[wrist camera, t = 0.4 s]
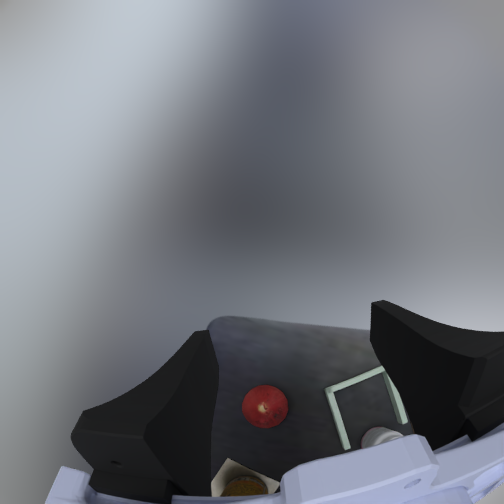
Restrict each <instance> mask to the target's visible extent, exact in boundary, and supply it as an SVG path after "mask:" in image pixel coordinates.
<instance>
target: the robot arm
mask: <svg viewBox="0 0 504 504" xmlns="http://www.w3.org/2000/svg"><path fill="white" fill-rule="evenodd" d="M370 342H371V344H372V347H373V349H374V351H375V354H376V356H377V358H378V360H379V361H380V363H381V365H382V366H383V368H384V369H385V371H386V373H387V374H388V376H389V378H390V379H391V381H392V383H393V384H394V386H395V387H396V389H397V391H398V393H399V395H400V397H401V399H402V401H403V403H404V406H405V408H406V411H407V413H408V416H409V418H410V421H411V424H412V427H413V429H414V433H415V434H412V435H407V436H403V437H398V438H395V439H392V440H389V441H386V442H383V443H380V444H377V445H374V446H370V447H367V448H363V449H360V450H356V451H352V452H348V453H344V454H340V455H336V456H331V457H327V458H322V459H317V460H314V461H310V462H307V463H304V464H300V465H298V466H296V467H295V468H293V469H291V470H290V471H288V472H286V473H285V474H284V475H283V477H282V479H281V482H280V489H281V492H279V493H275V494H265V495H252V496H232V497H212V490H211V430H212V422H213V416H214V409H215V403H216V397H217V391H218V382H219V365H218V362H217V358H216V355H215V351H214V348H213V344H212V341H211V337H210V333H209V330H203V331H195V332H194V333H193V334H192V335H191V336H190V337H189V339H188V340H187V341H186V342H185V343H184V344H183V345H182V347H181V348H180V349H179V350H178V351H177V352H176V353H175V354H174V356H172V357H171V358H170V359H169V360H168V361H167V362H166V363H165V364H164V365H163V366H162V367H161V368H160V369H159V370H158V371H157V372H155V373H154V374H153V375H152V376H151V377H149V378H148V379H146V380H145V381H144V382H142V383H141V384H139V385H138V386H136V387H135V388H133V389H132V390H130V391H128V392H127V393H125V394H123V395H121V396H119V397H117V398H115V399H113V400H111V401H109V402H107V403H104V404H102V405H99V406H96V407H93V408H91V409H88V410H85V411H83V413H82V414H81V416H80V418H79V420H78V422H77V424H76V426H75V428H74V429H73V431H72V433H71V440H72V443H73V445H74V447H75V448H76V449H77V451H78V452H79V453H80V454H81V455H82V456H83V458H84V459H85V460H86V461H87V462H88V463H89V464H90V465H91V466H92V468H93V469H94V471H93V473H92V476H91V475H90V474H88V473H86V472H84V471H81V470H77V469H73V468H69V467H66V466H61V468H60V470H59V473H58V475H57V477H56V479H55V481H54V484H53V486H52V488H51V490H50V493H49V495H48V497H47V500H46V502H45V504H474V503H476V502H477V501H479V500H480V499H482V498H483V497H485V496H486V495H487V494H489V493H490V492H492V491H493V490H494V489H496V488H497V487H498V486H500V485H501V484H502V483H503V482H504V332H486V331H475V330H468V329H462V328H457V327H453V326H449V325H446V324H442V323H439V322H436V321H433V320H430V319H428V318H425V317H423V316H420V315H418V314H415V313H413V312H411V311H409V310H406V309H404V308H402V307H400V306H398V305H395V304H393V303H390V302H388V301H385V300H381V301H377V302H372V303H371V329H370Z"/></svg>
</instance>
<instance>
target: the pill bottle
mask: <svg viewBox="0 0 504 504" xmlns="http://www.w3.org/2000/svg"><path fill="white" fill-rule="evenodd" d="M398 437H403V435H402V434H401V433H399V432H396V431H393V430H390V429H387V428H384V427H374V428H371V429H370V430H368V431H367V432H366V433H365V434H364V436H363V437H362V440H361V449H363V448H367V447H370V446H374V445H377V444H380V443H383V442H386V441H389V440H392V439H395V438H398Z"/></svg>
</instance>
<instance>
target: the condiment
mask: <svg viewBox="0 0 504 504" xmlns="http://www.w3.org/2000/svg"><path fill="white" fill-rule="evenodd" d="M279 485H280V483H279V482H277V481H275V480H273V479H270V478H268V477H266V476H264V475H262V474H259V473H257V472H255V471H253V470H251V469H248V468H247V467H245V466H243V465H241V464H239V463H236V462H234V461H232V460H231V459H229V458H227V460H226V461H225V463H224V464H223V466H222V467H221V469H220V470H219V472H218V473H217V475H216V476H215V478H214V479H213V481H212V482H211V490H212V497H232V496H252V495H265V494H274V492H275V491H276V489H277V488H278V487H279ZM223 488H224V490H223Z"/></svg>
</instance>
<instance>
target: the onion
mask: <svg viewBox="0 0 504 504" xmlns="http://www.w3.org/2000/svg"><path fill="white" fill-rule="evenodd" d="M242 412H243V414H244V416H245V418H246V420H248V421H249V422H250V423H251V424H252V425H254V426H257V427H259V428H271V427H273V426H276V425H279V424H280V423H281V422H282V421H283V420H284V419H285V418H286V415H287V412H288V402H287V399H286V397H285V395H284V394H283V392H281V391H280V390H279V389H278V388H276V387H273V386H270V385H259V386H257V387H255V388H253V389H251V390H250V391H249V392H248V393H247V394H246V396H245V398H244V400H243V403H242Z"/></svg>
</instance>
